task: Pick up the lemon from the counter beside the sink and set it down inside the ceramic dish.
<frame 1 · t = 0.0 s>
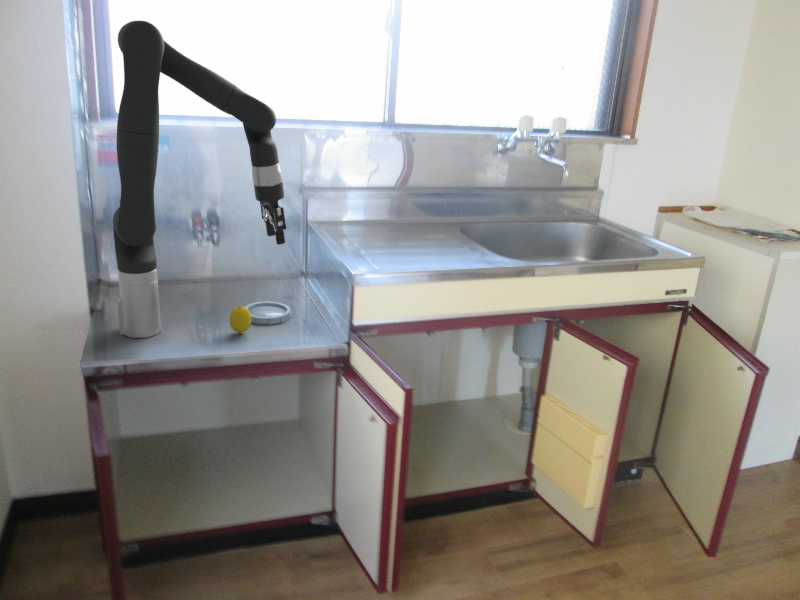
hand: (276, 239, 182), 22 cm above the worktop, tool pointing down, fingers open, 8 cm apart
lemon: (240, 334, 176), on the worktop
dish: (267, 315, 189), on the worktop
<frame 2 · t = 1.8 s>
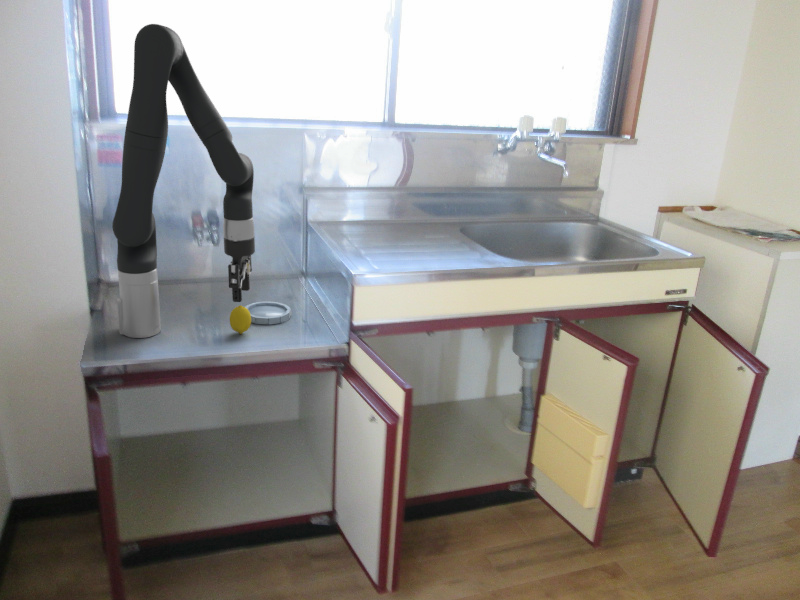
hand: (241, 295, 173), 11 cm above the worktop, tool pointing down, fingers open, 8 cm apart
nothing on the worktop moved.
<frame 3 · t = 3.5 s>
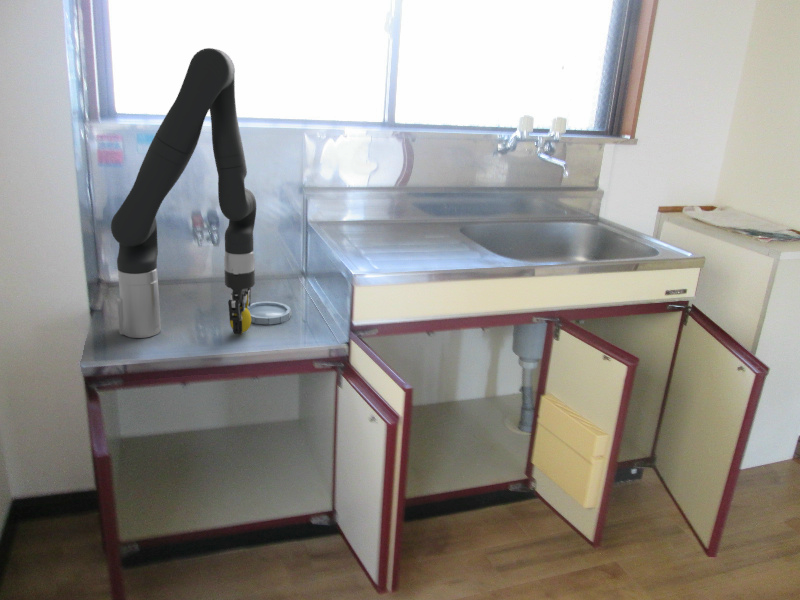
hand: (240, 328, 176), 2 cm above the worktop, tool pointing down, fingers closed on lemon, 5 cm apart
lemon: (240, 334, 176), on the worktop, touching gripper
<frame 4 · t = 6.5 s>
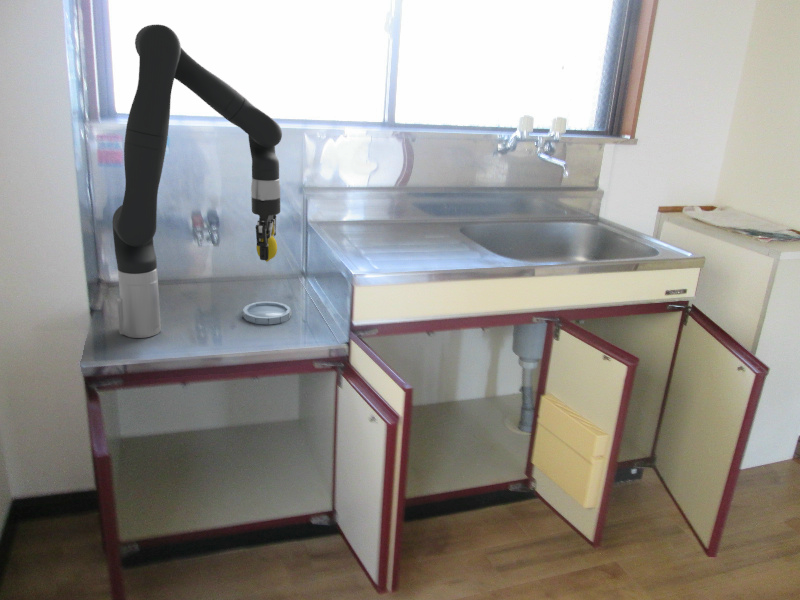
hand: (266, 256, 182), 18 cm above the worktop, tool pointing down, fingers closed on lemon, 5 cm apart
lemon: (267, 262, 183), point 16 cm above the worktop, touching gripper
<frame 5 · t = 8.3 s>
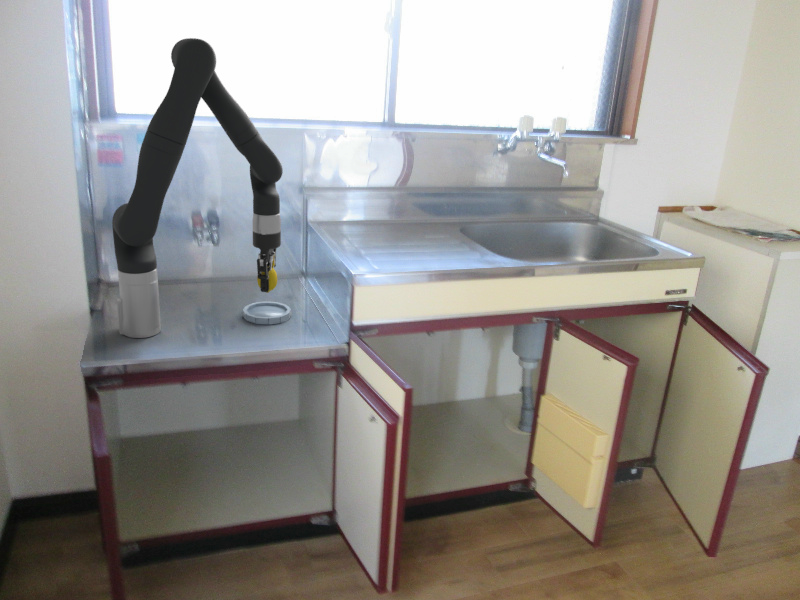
hand: (267, 287, 186), 8 cm above the worktop, tool pointing down, fingers closed on lemon, 5 cm apart
lemon: (267, 293, 187), point 7 cm above the worktop, touching gripper
when the fingers open (4 cm above the worktop, at t = 9.6 s): lemon drops 2 cm, resting on dish.
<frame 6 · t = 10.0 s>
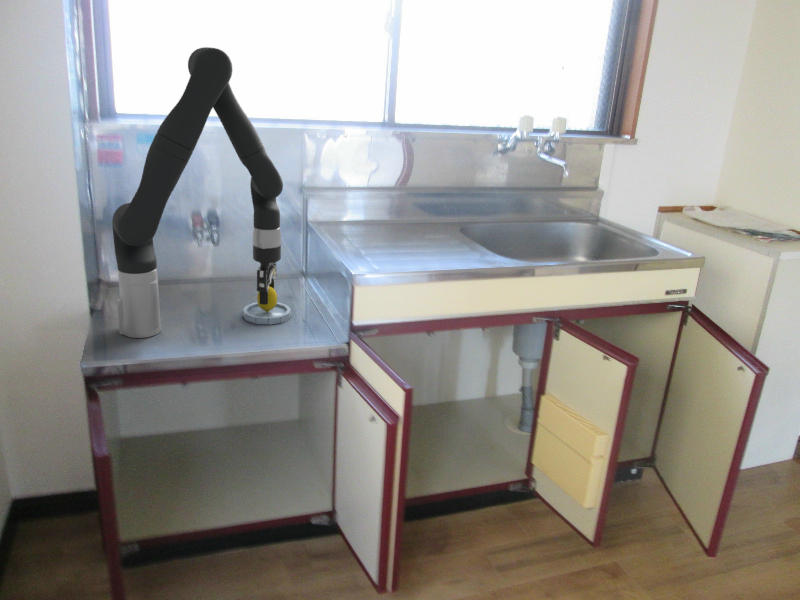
hand: (267, 298, 187), 5 cm above the worktop, tool pointing down, fingers open, 8 cm apart
lemon: (267, 312, 189), point 1 cm above the worktop, touching dish
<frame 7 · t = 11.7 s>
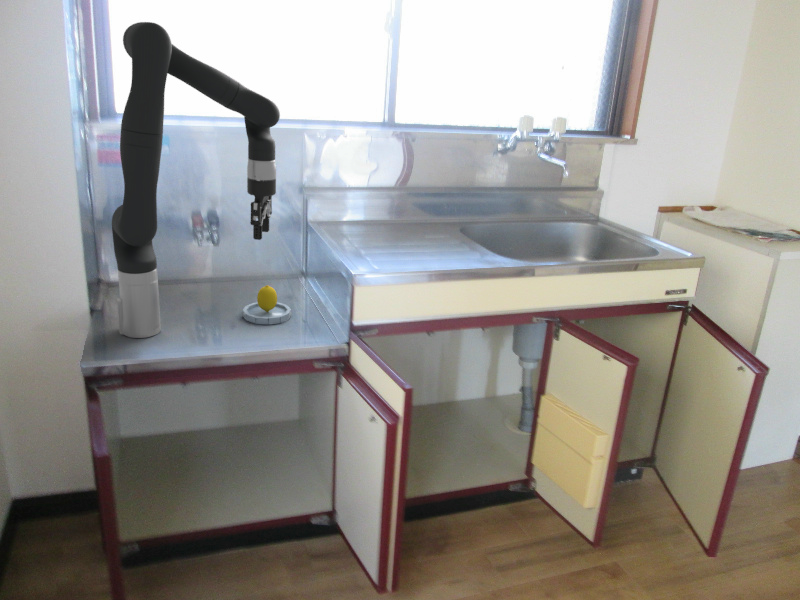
hand: (261, 235, 183), 23 cm above the worktop, tool pointing down, fingers open, 8 cm apart
nothing on the worktop moved.
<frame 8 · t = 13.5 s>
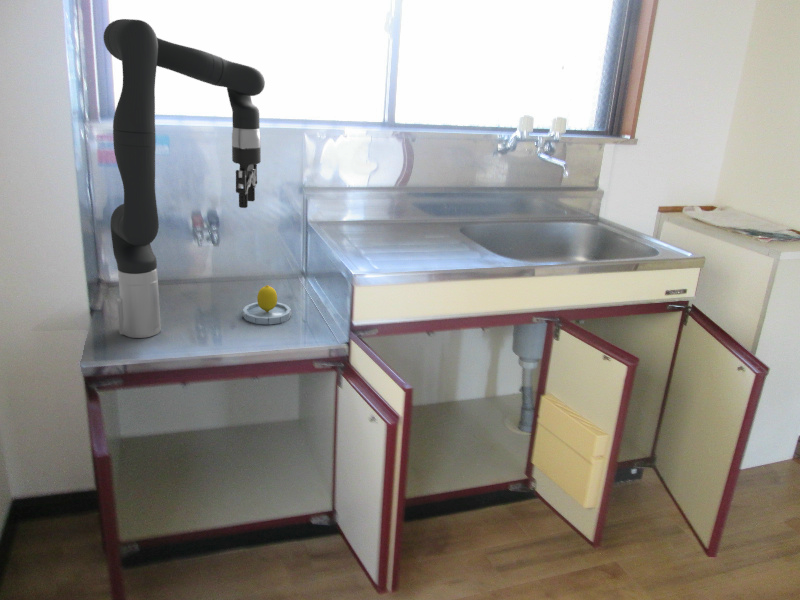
hand: (247, 204, 185), 30 cm above the worktop, tool pointing down, fingers open, 8 cm apart
nothing on the worktop moved.
at the end: lemon inside the target area on the dish (0.2 cm from its centre), point 0.8 cm above the dish's base; the gripper is holding nothing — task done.
